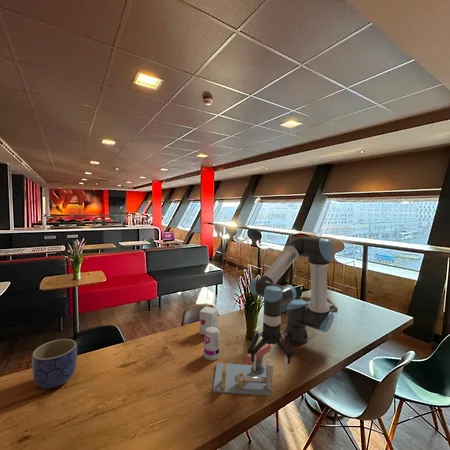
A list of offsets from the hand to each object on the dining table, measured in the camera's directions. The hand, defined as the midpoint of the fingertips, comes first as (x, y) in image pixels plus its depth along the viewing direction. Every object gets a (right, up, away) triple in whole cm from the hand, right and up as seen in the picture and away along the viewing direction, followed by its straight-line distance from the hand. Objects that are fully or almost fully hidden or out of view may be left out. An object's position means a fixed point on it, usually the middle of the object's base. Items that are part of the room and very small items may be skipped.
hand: (270, 369), depth 108 cm
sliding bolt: (-7, -8, +1) cm, 11 cm away
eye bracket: (-17, -8, +1) cm, 18 cm away
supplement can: (-27, -7, +24) cm, 37 cm away
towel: (+53, -4, +83) cm, 98 cm away
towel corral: (+58, -4, +99) cm, 115 cm away
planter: (-96, -7, +3) cm, 97 cm away
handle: (-3, -1, +13) cm, 13 cm away
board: (-12, -9, +7) cm, 16 cm away
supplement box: (-31, -6, +49) cm, 58 cm away
